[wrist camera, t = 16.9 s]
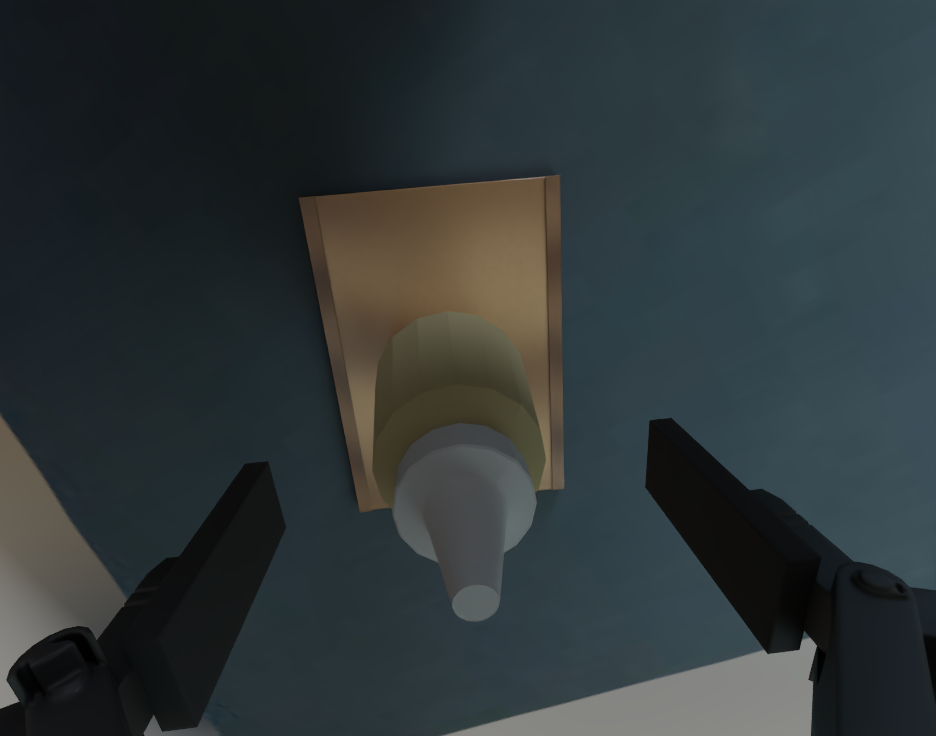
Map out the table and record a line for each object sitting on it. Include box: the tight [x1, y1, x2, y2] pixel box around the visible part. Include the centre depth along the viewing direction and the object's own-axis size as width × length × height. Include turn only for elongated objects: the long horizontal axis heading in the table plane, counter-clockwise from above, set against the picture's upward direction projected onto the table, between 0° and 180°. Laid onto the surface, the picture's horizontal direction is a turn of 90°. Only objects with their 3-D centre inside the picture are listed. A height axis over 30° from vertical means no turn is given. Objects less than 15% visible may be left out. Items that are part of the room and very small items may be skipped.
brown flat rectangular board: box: [299, 175, 564, 512], centre depth 28 cm, size 20×14×1 cm
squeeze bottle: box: [372, 311, 546, 621], centre depth 20 cm, size 8×8×18 cm
